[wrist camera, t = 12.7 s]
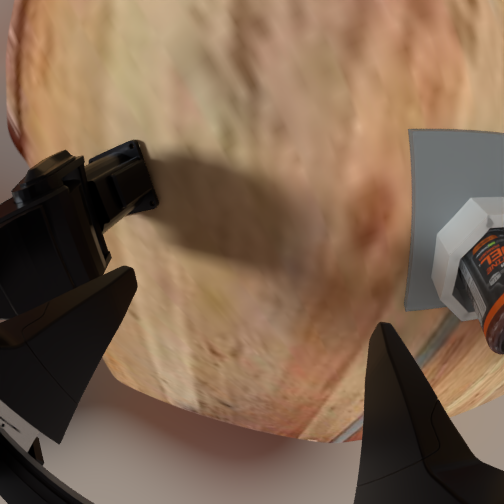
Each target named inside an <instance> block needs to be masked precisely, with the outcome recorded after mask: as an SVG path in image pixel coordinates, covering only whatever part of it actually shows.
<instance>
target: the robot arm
mask: <svg viewBox="0 0 504 504" xmlns="http://www.w3.org/2000/svg"><path fill="white" fill-rule="evenodd" d="M132 144H133V145H134V147H132ZM84 163H85V161H84V156H78V157H75V156H72V155H71V154H70V153H69V152H68V151H67V150H63V151H60V152H58V153H56V154H54V155H52V156H50V157H48V158H46V159H44V160H42V161H41V162H39V163H38V164H36V165H35V166H34V167H32V168H31V169H29V170H28V172H27V174H26V176H25V177H24V178H23V179H22V180H21V181H20V182H19V183H18V184H17V185H16V186H15V188H13V189H12V191H11V192H12V195H13V197H12V198H10V199H8V200H6V201H5V202H3V203H1V204H0V320H6V321H4V322H1V323H0V495H1V497H2V498H3V499H4V500H5V501H6V502H7V503H8V504H94V503H92V502H91V501H89V500H88V499H86V498H84V497H83V496H82V495H80V494H78V493H77V492H76V491H74V490H72V489H71V488H70V487H68V486H67V485H66V484H64V483H63V482H61V481H60V480H59V479H58V478H57V477H55V476H54V475H53V474H51V473H50V472H49V471H48V470H46V469H45V468H44V467H43V464H44V460H43V456H42V452H41V447H40V443H39V438H38V437H37V435H38V433H39V431H40V432H41V433H43V434H44V435H46V436H47V437H49V438H50V439H52V440H53V441H55V442H56V443H58V444H60V443H61V441H62V439H63V436H64V434H65V432H66V430H67V427H68V425H69V423H70V420H71V419H72V416H73V414H74V412H75V410H76V408H77V406H78V403H79V401H80V399H81V397H82V395H83V393H84V390H85V389H86V387H87V385H88V383H89V381H90V379H91V377H92V375H93V373H94V371H95V369H96V368H97V366H98V364H99V362H100V360H101V358H102V356H103V355H104V353H105V351H106V349H107V347H108V345H109V344H110V342H111V340H112V338H113V336H114V335H115V333H116V331H117V329H118V328H119V326H120V324H121V322H122V320H123V318H124V316H125V314H126V312H127V310H128V307H129V305H130V303H131V301H132V299H133V297H134V295H135V293H136V290H137V280H136V276H135V272H134V269H133V268H131V267H128V266H121V267H119V268H117V269H115V270H113V271H111V272H108V273H106V274H104V272H105V270H106V268H107V266H108V264H109V262H110V260H111V258H112V257H111V254H110V251H108V249H107V246H106V243H105V240H104V237H103V234H104V233H105V232H106V231H107V230H108V229H110V228H111V227H112V226H113V225H114V224H116V223H117V222H118V221H119V220H121V219H122V218H123V217H124V216H126V215H128V214H132V213H137V212H141V211H146V210H151V209H154V208H156V207H157V206H158V205H159V201H158V198H157V196H156V193H155V190H154V188H153V185H152V182H151V179H150V176H149V174H148V171H147V168H146V165H145V162H144V159H143V156H142V153H141V150H140V147H139V144H138V142H137V141H136V140H131V141H128V142H126V143H124V144H121V145H119V146H117V147H115V148H112V149H110V150H108V151H106V152H104V153H102V154H100V155H97V156H95V157H93V158H91V159H90V160H89V164H88V165H86V166H84ZM152 202H154V204H153V203H152ZM103 274H104V275H103ZM437 399H438V398H437V396H436V394H435V392H434V391H433V389H432V387H431V386H430V384H429V382H428V381H427V379H426V377H425V376H424V374H423V372H422V371H421V369H420V368H419V366H418V364H417V363H416V361H415V360H414V358H413V356H412V355H411V353H410V352H409V350H408V349H407V347H406V346H405V344H404V342H403V341H402V339H401V338H400V336H399V335H398V333H397V332H396V330H395V329H394V327H393V326H392V325H391V324H390V323H385V322H379V323H378V325H377V327H376V328H375V330H374V332H373V334H372V336H371V338H370V341H369V349H368V359H367V368H366V377H365V398H364V421H363V435H362V447H361V457H360V466H359V474H358V481H357V486H358V487H356V493H355V500H354V504H504V471H503V470H500V469H497V468H495V467H493V466H490V465H488V464H486V463H483V462H482V461H480V460H479V459H478V458H476V457H475V456H474V454H473V453H472V452H471V450H470V449H469V447H468V446H467V444H466V443H465V441H464V439H463V438H462V436H461V435H460V433H459V432H458V430H457V429H456V427H455V426H454V424H453V423H452V421H451V420H450V418H449V416H448V415H447V413H446V411H445V410H444V408H443V406H442V404H441V403H440V401H439V400H437Z"/></svg>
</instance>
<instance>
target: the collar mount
mask: <svg viewBox="0 0 504 504" xmlns="http://www.w3.org/2000/svg"><path fill="white" fill-rule="evenodd" d="M408 131H409V142H410V155H411V174H412V225H411V244H410V257H409V268H408V277H407V286H406V293H405V300H404V307H405V311H416V310H425V309H434V308H442V307H448V308H449V309H450V310H451V311H452V312H453V313H454V314H455V315H456V316H457V317H458V318H459V319H460V320H461V322H462V321H468V320H474V319H478V317H477V314H476V312H475V309H474V307H473V305H472V302H471V300H470V298H469V295H468V293H467V291H466V289H465V287H464V285H463V282H462V281H461V278H460V276H459V274H458V267H459V262H460V259H461V258H462V257H463V256H464V255H465V254H466V253H467V252H468V251H469V250H470V249H471V248H472V247H473V246H474V245H475V244H476V243H477V242H478V241H479V240H480V239H481V238H482V237H483V236H484V234H485V233H486V232H487V231H488V230H489V229H490V228H499V227H502V228H503V229H504V133H499V132H488V131H475V130H457V129H408Z"/></svg>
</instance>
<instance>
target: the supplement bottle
mask: <svg viewBox="0 0 504 504" xmlns="http://www.w3.org/2000/svg"><path fill="white" fill-rule="evenodd" d="M458 274H459V276H460V278H461V281H462V282H463V285H464V287H465V289H466V291H467V293H468V295H469V298H470V300H471V302H472V305H473V307H474V309H475V312H476V314H477V317H478V319H479V322H480V324H481V327H482V330H483V332H484V334H485V337H486V340H487V343H488V345H489V347H490V348H491V350H492V351H494V352H495V353H498V354H504V229H503V228H502V227H499V228H490V229H489V230H488V231H487V232H486V233H485V234H484V236H483V237H482V238H481V239H480V240H479V241H478V242H477V243H476V244H475V245H474V246H473V247H472V248H471V249H470V250H469V251H468V252H467V253H466V254H465V255H464V256H463V257H462V258H461V259H460V262H459V267H458Z"/></svg>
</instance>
